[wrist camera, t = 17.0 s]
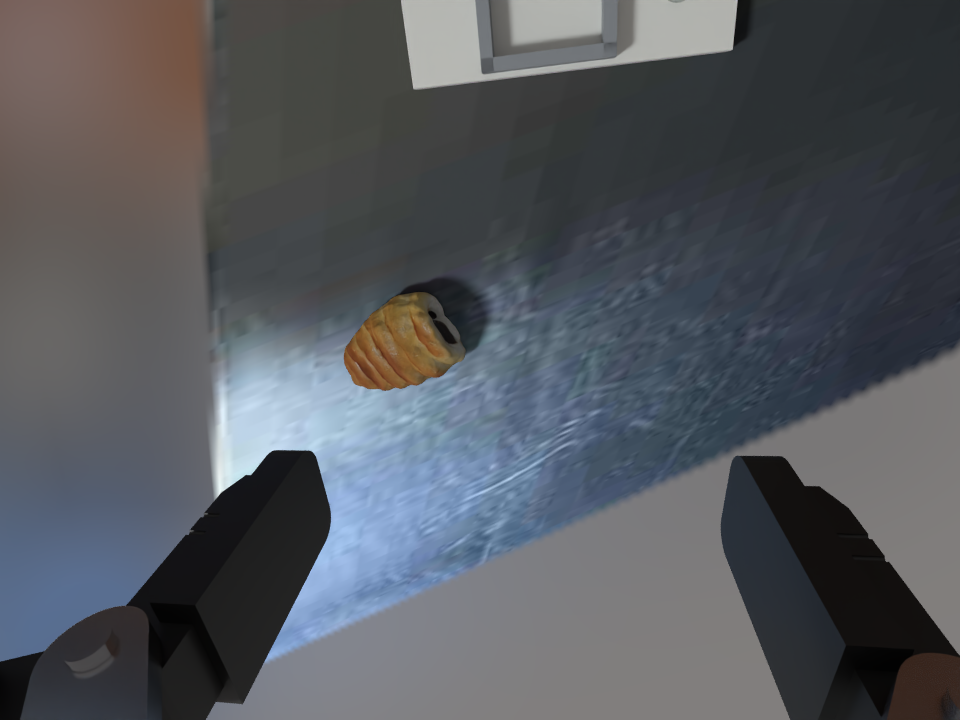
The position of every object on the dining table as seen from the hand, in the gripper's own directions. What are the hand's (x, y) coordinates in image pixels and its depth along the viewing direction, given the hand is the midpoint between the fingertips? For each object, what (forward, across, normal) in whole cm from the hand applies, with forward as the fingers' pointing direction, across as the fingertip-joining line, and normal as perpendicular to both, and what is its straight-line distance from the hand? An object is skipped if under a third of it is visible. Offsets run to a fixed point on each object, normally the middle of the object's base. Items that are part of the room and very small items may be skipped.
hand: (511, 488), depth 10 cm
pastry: (+28, +10, +9) cm, 31 cm away
